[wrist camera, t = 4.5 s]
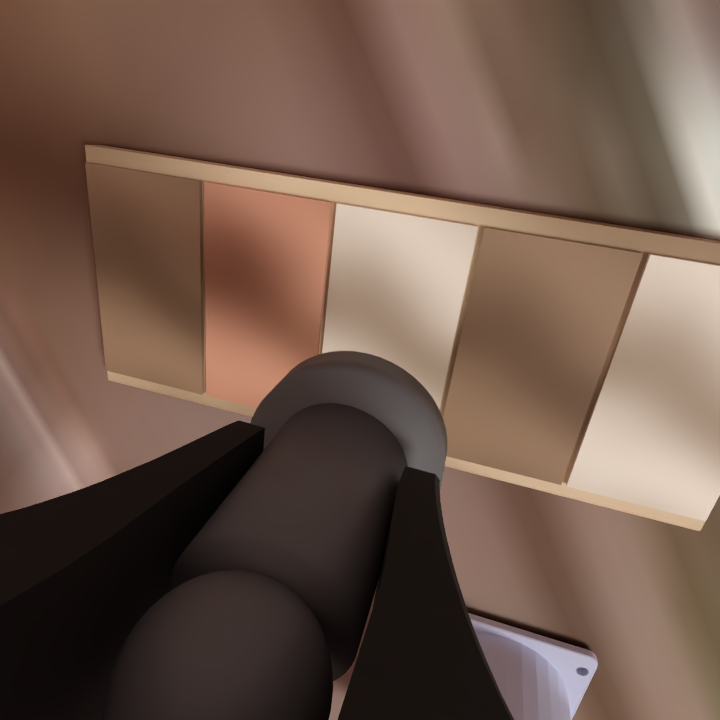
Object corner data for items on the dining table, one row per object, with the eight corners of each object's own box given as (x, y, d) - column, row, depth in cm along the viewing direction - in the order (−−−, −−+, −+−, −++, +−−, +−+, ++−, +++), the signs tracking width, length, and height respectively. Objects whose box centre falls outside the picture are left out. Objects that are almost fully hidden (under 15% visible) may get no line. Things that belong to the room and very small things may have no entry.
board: (692, 517, 19) (701, 534, 18) (120, 373, 24) (105, 381, 23) (825, 257, 15) (845, 264, 14) (100, 145, 20) (80, 144, 19)
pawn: (427, 532, 13) (333, 987, 6) (265, 484, 13) (15, 836, 7) (466, 376, 11) (397, 779, 4) (275, 332, 12) (-58, 602, 5)
